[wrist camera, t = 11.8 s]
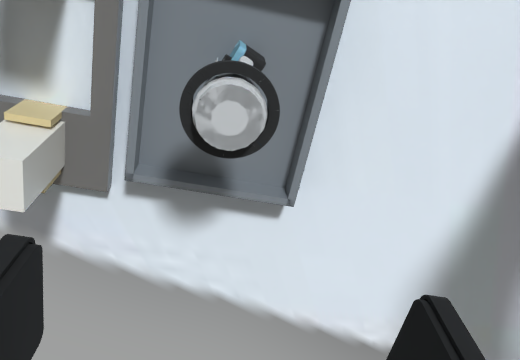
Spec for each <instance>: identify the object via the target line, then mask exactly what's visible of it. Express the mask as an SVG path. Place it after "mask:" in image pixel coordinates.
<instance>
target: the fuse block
mask: <svg viewBox="0 0 520 360" xmlns="http://www.w3.org/2000/svg"><path fill="white" fill-rule="evenodd" d="M122 11H123V0H95V10H94V35H93V61H92V87H91V111H89V110H83V109H78V108H72V107H67V106H61V105H55V104H50V103H44V102H38V101H33V100H27V99H21V98H16V97H10V96H5V95H0V209H4V210H10V211H17V212H25V211H26V210H27V209H28V207H29V206H30V205H31V204H32V203H33V202H34V200H35V199H36V198H37V197H38V196H39V195H40V193H45V192H46V191H47V190H48V188H49V187H50V186H51V185H52V184H58V185H64V186H71V187H77V188H84V189H90V190H97V191H103V192H108V190H109V188H110V186H111V179H112V164H113V149H114V134H115V118H116V103H117V88H118V72H119V57H120V42H121V26H122Z"/></svg>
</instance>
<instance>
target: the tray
mask: <svg viewBox="0 0 520 360" xmlns="http://www.w3.org/2000/svg"><path fill="white" fill-rule="evenodd" d="M350 2H351V0H139V7H138V19H137V32H136V44H135V57H134V69H133V82H132V94H131V107H130V119H129V132H128V144H127V157H126V169H125V180H127V181H133V182H140V183H146V184H152V185H159V186H165V187H171V188H178V189H184V190H190V191H197V192H203V193H209V194H216V195H222V196H228V197H234V198H241V199H247V200H253V201H260V202H266V203H272V204H279V205H285V206H291V207H294V204H295V200H296V197H297V193H298V189H299V186H300V182H301V178H302V175H303V171H304V168H305V164H306V160H307V157H308V153H309V150H310V146H311V142H312V139H313V135H314V132H315V128H316V124H317V121H318V117H319V114H320V110H321V106H322V103H323V99H324V95H325V92H326V88H327V85H328V81H329V77H330V74H331V70H332V67H333V63H334V59H335V56H336V52H337V49H338V45H339V41H340V38H341V34H342V31H343V27H344V23H345V20H346V16H347V12H348V9H349V5H350ZM239 40H240V41H242V42H243V43H245V44H246V45H248V46H249V47H250V48H252V49H253V50H255V51H256V52H258V53H259V54H260V55H262V56H263V57H264V58H265V62H266V65H265V67H264V68H263V70H262V71H261V72H262V73H263V74H265V75H266V77H267V78H268V79H269V80H270V81H271V83H272V84H273V86H274V88H275V90H276V93H277V96H278V99H279V104H280V117H279V122H278V126H277V129H276V131H275V133H274V135H273V136H272V138H271V139H270V140H269V142H268V143H267V144H266V145H265V146H263V147H262V148H261V149H260V150H258V151H257V152H255V153H253V154H251V155H248V156H245V157H241V158H234V159H227V158H220V157H216V156H213V155H210V154H208V153H206V152H204V151H202V150H201V149H199V148H198V147H197V146H196V145H195V144H194V143H193V142H192V141H191V140H190V139H189V138H188V136H187V134H186V133H185V131H184V129H183V126H182V124H181V120H180V114H179V105H180V99H181V95H182V92H183V90H184V88H185V86H186V84H187V82H188V81H189V79H190V78H191V77H192V76H193V75H194V74H195V73H196V72H197V71H198V70H200V69H201V68H203V67H204V66H206V65H208V64H211V63H214V62H215V60H216V59H217V57H218V61H222V59H223V58H224V56H225V55H226V54H227V55H229V56H230V54H231V53H232V51H233V49H234V47H235V45H236V44H237V42H238V41H239ZM207 81H208V79H207V80H206V81H205V82H203V83H202V84H201V85H200V86H199V88H198V89H197V90H196V92H195V94H194V97H193V103H194V101H195V98H196V96H197V94H198V92H199V91H200V90H201V89H202V88H203V85H204V84H205V83H206V82H207ZM256 85H257V84H256ZM257 86H258V85H257ZM258 90H259V92H260V93H261V95H262V96H263V98H264V100H265V103H266V108H267V98H266V96H265V94H264V92H263V91H262V89H261V88H260V87H259V86H258Z"/></svg>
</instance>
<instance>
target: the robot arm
mask: <svg viewBox="0 0 520 360" xmlns="http://www.w3.org/2000/svg"><path fill="white" fill-rule="evenodd" d="M42 265H43V264H42V247H41V245H36V244H35V240H34V238H32V237H25V236H18V235H11V234H7V235H5V236H3V237H2V238H1V240H0V360H31V359H32V357H33V355H34V353H35V351H36V349H37V347H38V346H39V344H40V341H41V338H42V335H43V328H44V327H43V326H44V325H43V266H42ZM386 360H485V358H484V356H483V355H482V353H481V351H480V350H479V348H478V347H477V345H476V343H475V342H474V340H473V338H472V337H471V335H470V333H469V332H468V330H467V328H466V327H465V325H464V324H463V322H462V320H461V319H460V317H459V315H458V314H457V312H456V310H455V309H454V307H453V306H452V304H451V302H450V301H449V300H448V299H447V298H444V297H437V296H431V295H423V296H422V297H421V298H420V299H417V300H415V301H414V302H413V304H412V306H411V308H410V311H409V313H408V315H407V317H406V319H405V321H404V323H403V325H402V328H401V330H400V332H399V334H398V336H397V338H396V340H395V342H394V345H393V347H392V349H391V351H390V353H389V355H388V357H387V359H386Z"/></svg>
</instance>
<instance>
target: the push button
mask: <svg viewBox="0 0 520 360" xmlns="http://www.w3.org/2000/svg"><path fill="white" fill-rule="evenodd" d="M265 65H266V62H265V58H264V57H263V56H262V55H260V54H259V53H258V52H256V51H255V50H253V49H252V48H250V47H249V46H248V45H246V44H245V43H243V42H242V41H240V40H239V41H238V42H237V44H236V45H235V47H234V49H233V51H232V53H231V54H230V56H229V55H227V54H226V55H225V56H224V58H223V59H222V61H218V57H217V59H216V60H215V62H214V63H211V64H208V65H206V66H204V67H203V68H201V69H200V70H198V71H197V72H196V73H195V74H194V75H193V76H192V77H191V78H190V79H189V81H188V82H187V84H186V86H185V88H184V90H183V92H182V95H181V99H180V105H179V114H180V120H181V124H182V126H183V129H184V131H185V133H186V134H187V136H188V138H189V139H190V140H191V141H192V142H193V143H194V144H195V145H196V146H197V147H198V148H199V149H201V150H202V151H204V152H206V153H208V154H210V155H213V156H216V157H220V158H227V159H234V158H241V157H245V156H248V155H251V154H253V153H255V152H257V151H258V150H260V149H261V148H262V147H263V146H265V145H266V144H267V143H268V142H269V140H270V139H271V138H272V136H273V135H274V133H275V131H276V129H277V126H278V122H279V117H280V104H279V99H278V96H277V93H276V90H275V88H274V86H273V84H272V83H271V81H270V80H269V79H268V78H267V77H266V75H265V74H263V73H262V72H261V71H262V70H263V68H264V67H265ZM207 79H208V81H207V82H206V83H205V84H204V85H203V88H202V89H201V90H200V91H199V92H198V94H197V96H196V98H195V101H194V103H193V97H194V94H195V92H196V90H197V89H198V88H199V86H200V85H201V84H202V83H203V82H205V81H206V80H207ZM256 84H257V85H258V86H259V87H260V88H261V89H262V91H263V92H264V94H265V96H266V98H267V108H266V103H265V100H264V98H263V96H262V95H261V93H260V92H259V90H258V86H257V85H256Z"/></svg>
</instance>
